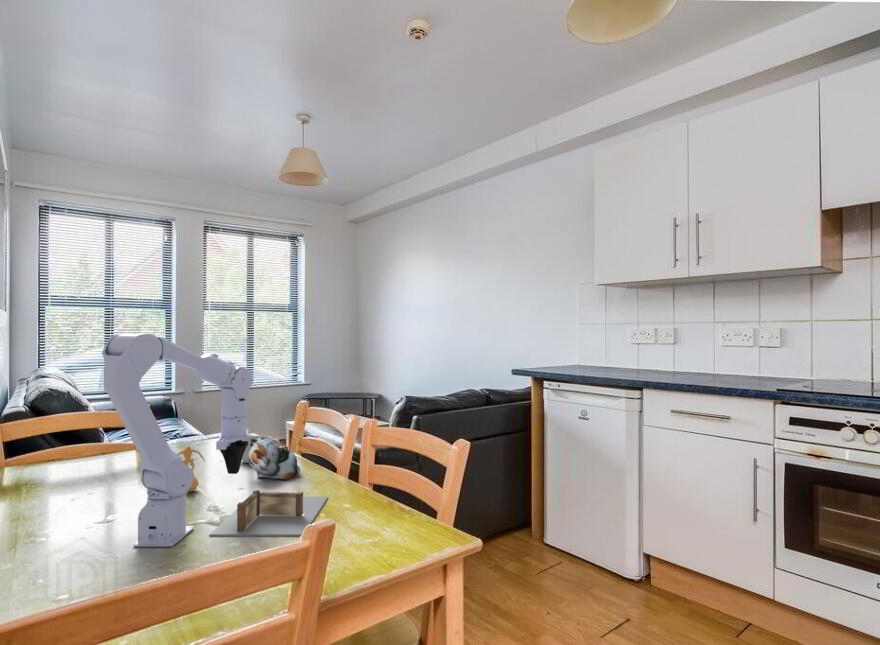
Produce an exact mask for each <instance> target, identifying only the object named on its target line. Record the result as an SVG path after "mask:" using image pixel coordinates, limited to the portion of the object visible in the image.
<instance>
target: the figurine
mask: <svg viewBox="0 0 880 645" xmlns="http://www.w3.org/2000/svg"><path fill="white" fill-rule="evenodd" d="M193 453H196V454H198V455H199V457H200V458H202V460H203V462H204V463H205V462H206V461H205V458H204V456H203V455H202V453H201V452H200V451H198V450H196V449H194V448H191V446H190V445H188V446H186V447H184V448H183V449H182V450H180V451H179V452H178V453H176V454H177V455H178V456H179V457H180V455H183V458H184V459H182V461H183V463H184V464H185V465H187V466H189V465H190V466H191V467H190V466H189V467H190V468H191V469H192V471H193V472H194V470H195V468H196V466H195V463H194V458H192V455H193ZM198 486H199V479H197V477H195V476H194V479H193V483H192V485H191V487H190V488H189V490H188V491H187V493H191V492H193V491H195V490H197V489H198Z"/></svg>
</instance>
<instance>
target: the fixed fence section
mask: <svg viewBox="0 0 880 645" xmlns="http://www.w3.org/2000/svg"><path fill="white" fill-rule="evenodd" d="M260 492H261V490H259V489H256V490H252V493H250V495H249V496H248V497H247V498H245V500H244V501H242V502H239V503H237V506H236V507H237V508H236V510H237V532H244V530H245V529H246V527H247V526H248V525H249V524H250V523H251V522H252V521H253V520H254V519H255V518H256V517H257V516H259V515H260Z"/></svg>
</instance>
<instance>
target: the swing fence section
mask: <svg viewBox="0 0 880 645" xmlns="http://www.w3.org/2000/svg"><path fill="white" fill-rule="evenodd" d="M303 497H304V491H297V492H288V491H287V492H286V491H285V492H284V491H281V492H280V491H260V514H261V515H285V516H300V517H301V516H302V515H303Z"/></svg>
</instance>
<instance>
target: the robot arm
mask: <svg viewBox="0 0 880 645" xmlns="http://www.w3.org/2000/svg"><path fill="white" fill-rule="evenodd" d="M101 354H102V357H103V360H104V368H103V369H104V371H103V387H104V390H105V391H106V393H107V395H108V397H109V399H110V402H111V403H112V405H113V407H114V409H115V410H116V412H117V414H118V416H119V418H120V420H121V422H122V424H123V426H124V428H125V429H126V430H125V431H127V433H128V435H129V438H130V439H131V442H132V444H133V445H134V447H135V449H136V451H137V453H138V455H139V456H140V458H141V460H140V461H139V462H138V468H139V470H140V481H141V484H142V486H143V487H144V488H146V494H147V498H146V499H147V501H146V503H145V505H144V506H143V507H142V508H141V509H140V511H139V513H138V516H137V540H136V542H134V543H133V547H139V548H140V547H153V548H154V547H156V548H157V547H158V548H159V547H173V546H174V545H176V544H177V543H178V542H179V541H180V540H182V539H183V538H184V537H185V536H186V535H188V534H189V533H190V532H192V531H193V530H194V528H195V526H193V525H187V495H188V492H187V491H188V490H189V488H190V487H191V485H192V483H193V479H194V477H195V475H194V470H193V471H192V469H191V468H192V467H190V466H189V465H188V466H187V465H185V464H184V463H183V459H182V457H180V455H179V456H178V455H177V454H178V453H176V452H175V451H174V450H172V448H171V447H170V445H169V444H168V442H167V439H166V438H165V435H164V433H163V431H162V430H161V427H160V425H159V424H158V423H159V422H158V421H157V418H156V417H155V415H154V414H153V411H152V409H151V407H150V405H149V403H148V401H147V399H146V397H145V395H144V393H143V390H142V389H141V386H140V382H141V381H142V379H143V377H144V376H145V375H146V374H147V373H148V371H150V369H151V368H152V367H153V366H154V365H155V364H156V363H157V361H167V362H171V363H174V364H176V365H180V366H182V367H186V368H188V369H191V370H192V372H193V375H194V376H195V378H198V379H201V380H203V381H206V382H209V383H211V384H214V385H216V386H217V387H218V389H220V390H221V403H220V404H221V406H220V407H221V409H220V412H221V414H220V415H221V417H220V419H221V420H220V435H219V438H218V440H216V442H215V447H216V450H217V451H220V453H221V455H222V457H223V460H224V463H225V467H226V472H227V474H228V475H233V474H234V475H236V474H238V473H240V472H239V471H240V468H241V465H242V462H243V460H242V457H243V454H244V452H245V449H246V447H247V446H248V441H242V439H245V438H250V437H251V436H252V434H251V433H250V429H249V428H247V425H248V424H247V423H248V422H247V420H248V419H247V418H248V417H247V416H248V396H249V393H250V392H249V391H250V388H251V386H252V385H253V381H254V378H253V377H252V374H251V373H250V372H249V370H248V369H247V368H246V367H241V366H239V367H238V366H235V363H234V362H232V361H226V360H222V359H221V358H219V355H218V354H216V353H206V354H202V355H198V354H197V353H194V352H193V351H191V350H188V349H186V348H185V347H182V346H180V345H178V344H176V343H174V342H173V341H170V340H168V339H167V338H164V337H161V336H156V335H154V334H152V333H148V332H147V333H145V332H144V333H127V332H119V333H116V334H114V335H112V336H111V337H110V338H109V339H108V340H107V342H106V344H105V346H104V347H103V349H102V351H101Z"/></svg>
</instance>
